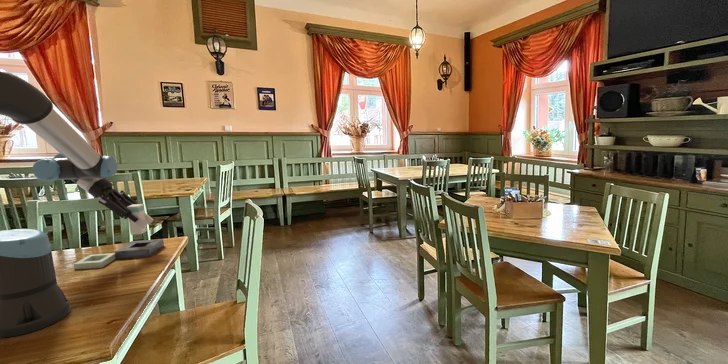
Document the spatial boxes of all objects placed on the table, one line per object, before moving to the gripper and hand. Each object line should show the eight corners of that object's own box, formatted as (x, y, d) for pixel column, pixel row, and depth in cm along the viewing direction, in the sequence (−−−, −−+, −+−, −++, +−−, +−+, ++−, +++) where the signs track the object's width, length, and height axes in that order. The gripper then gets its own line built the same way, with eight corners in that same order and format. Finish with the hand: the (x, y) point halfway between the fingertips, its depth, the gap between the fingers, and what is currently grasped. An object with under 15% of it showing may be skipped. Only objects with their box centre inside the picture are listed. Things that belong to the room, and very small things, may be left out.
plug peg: (141, 233, 133) (138, 206, 131) (130, 234, 133) (126, 206, 131) (147, 230, 137) (143, 203, 135) (136, 231, 137) (132, 204, 135)
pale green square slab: (102, 267, 121) (101, 261, 121) (74, 269, 120) (73, 263, 120) (117, 257, 130) (116, 252, 130) (91, 259, 129) (90, 254, 129)
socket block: (150, 256, 130) (149, 249, 130) (116, 259, 129) (114, 251, 128) (163, 245, 142) (163, 239, 142) (132, 248, 141) (131, 241, 140)
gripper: (103, 187, 138) (152, 224, 143) (73, 196, 122) (130, 237, 126) (115, 174, 138) (164, 211, 143) (87, 180, 121) (143, 223, 126)
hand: (148, 223), depth 135 cm, fingers closed on plug peg, 4 cm apart
